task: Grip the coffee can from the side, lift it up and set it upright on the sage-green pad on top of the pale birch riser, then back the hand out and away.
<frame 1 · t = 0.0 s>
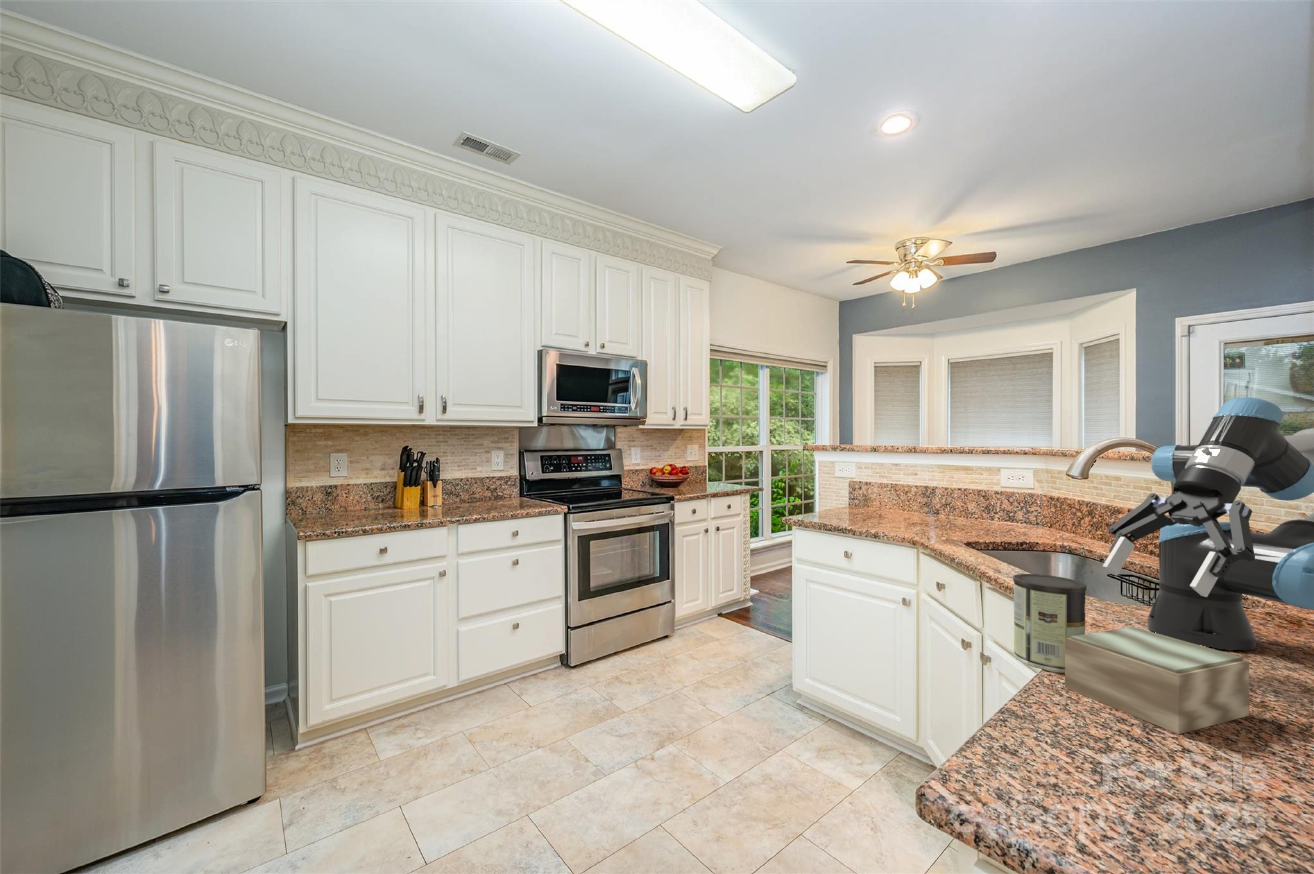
hand: (1150, 580, 89), 15 cm above the counter, tool tilted 35°, fingers open, 13 cm apart
riser: (1152, 700, 79), on the counter
coffee can: (1047, 662, 93), on the counter
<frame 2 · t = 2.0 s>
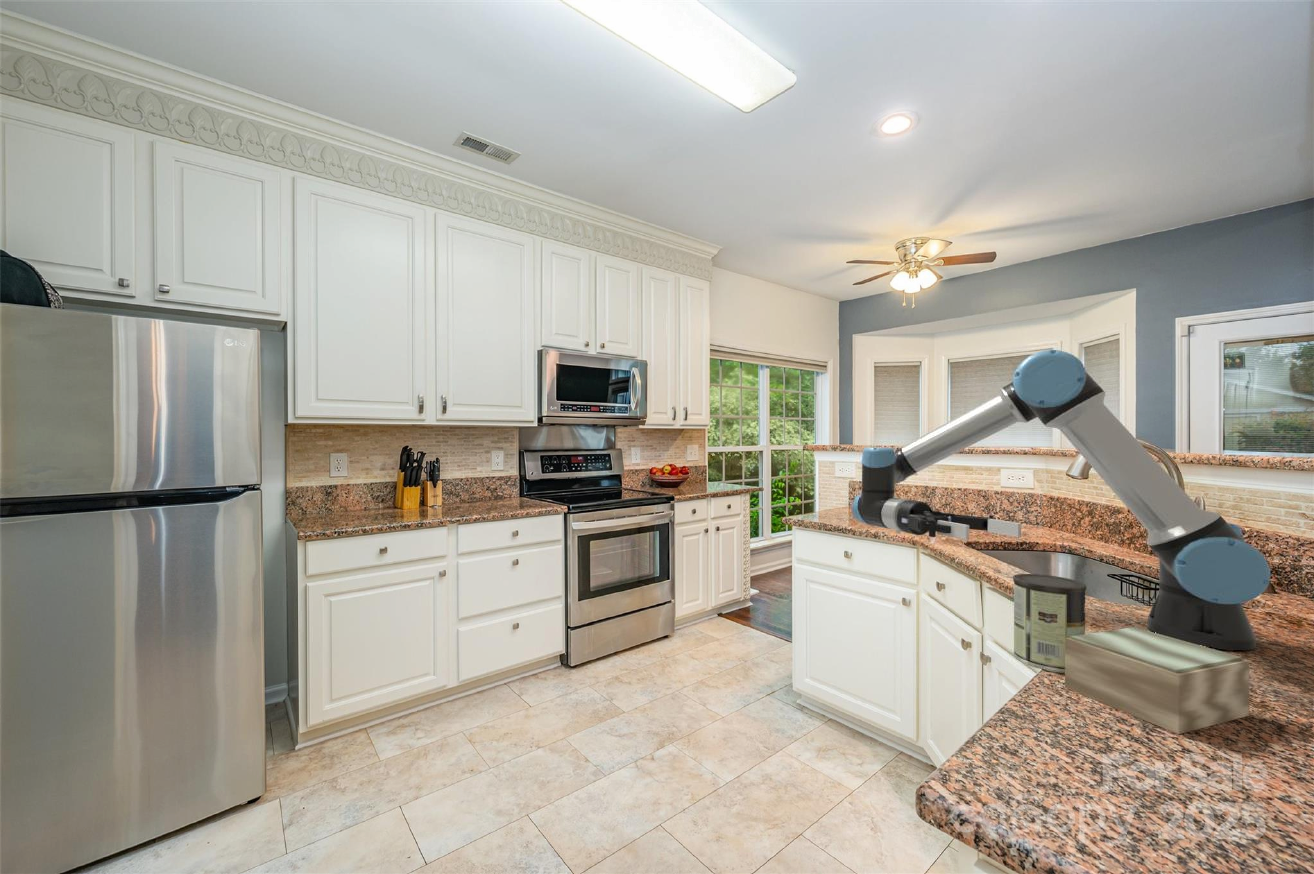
hand: (994, 531, 102), 21 cm above the counter, tool horizontal, fingers open, 13 cm apart
nothing on the counter moved.
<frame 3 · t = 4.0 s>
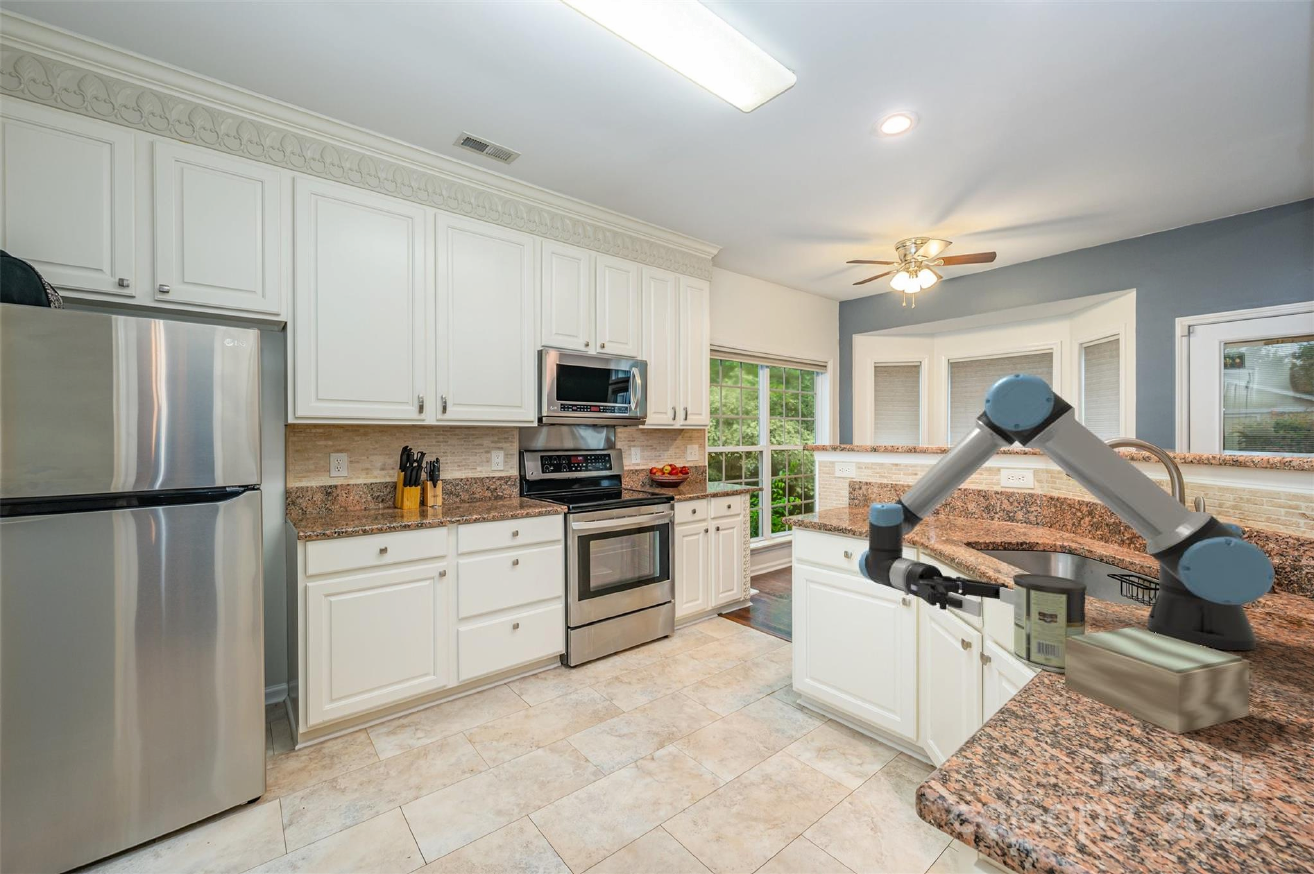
hand: (1007, 606, 99), 8 cm above the counter, tool horizontal, fingers open, 13 cm apart
nothing on the counter moved.
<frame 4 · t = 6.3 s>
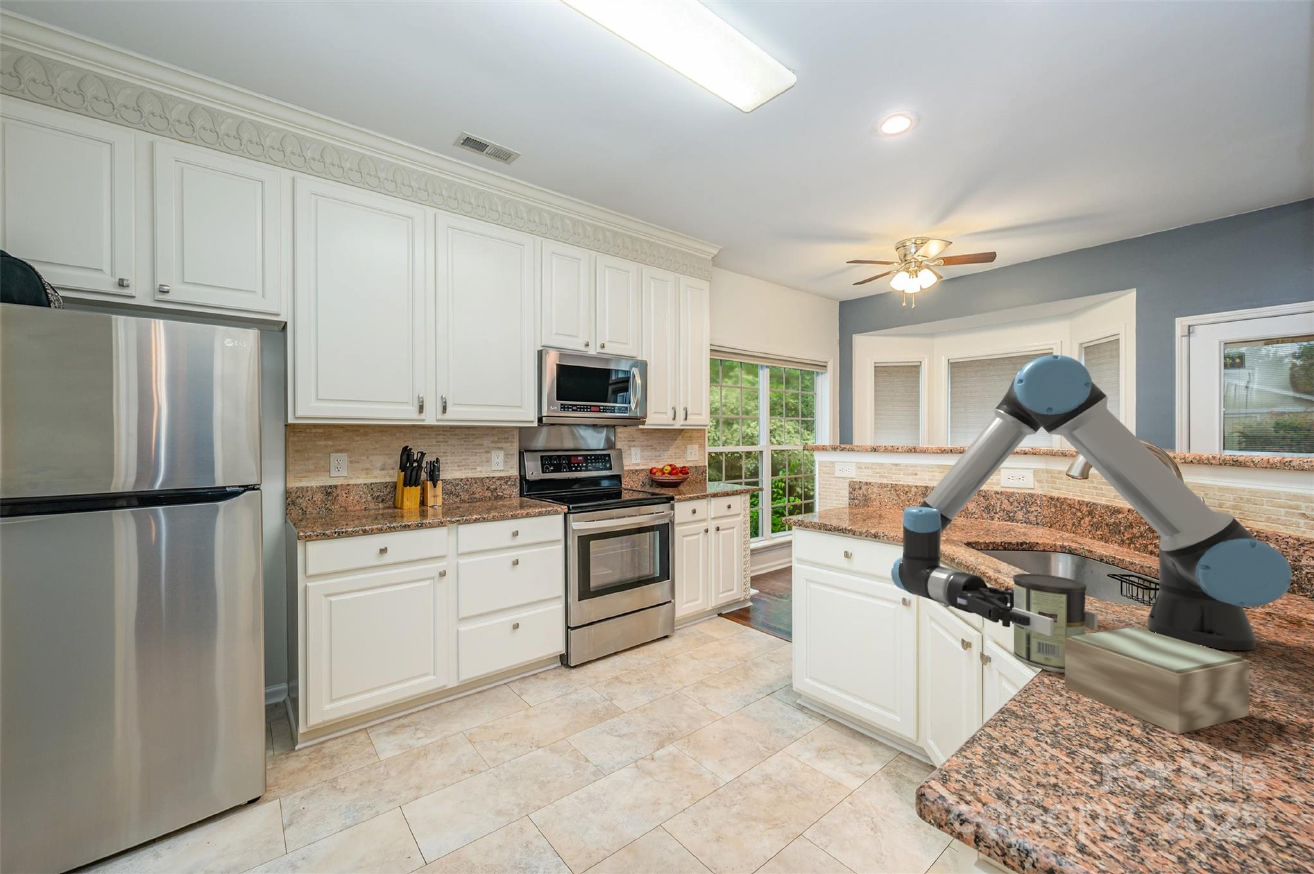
hand: (1074, 624, 89), 8 cm above the counter, tool horizontal, fingers closed on coffee can, 10 cm apart
coffee can: (1047, 662, 93), on the counter, touching gripper
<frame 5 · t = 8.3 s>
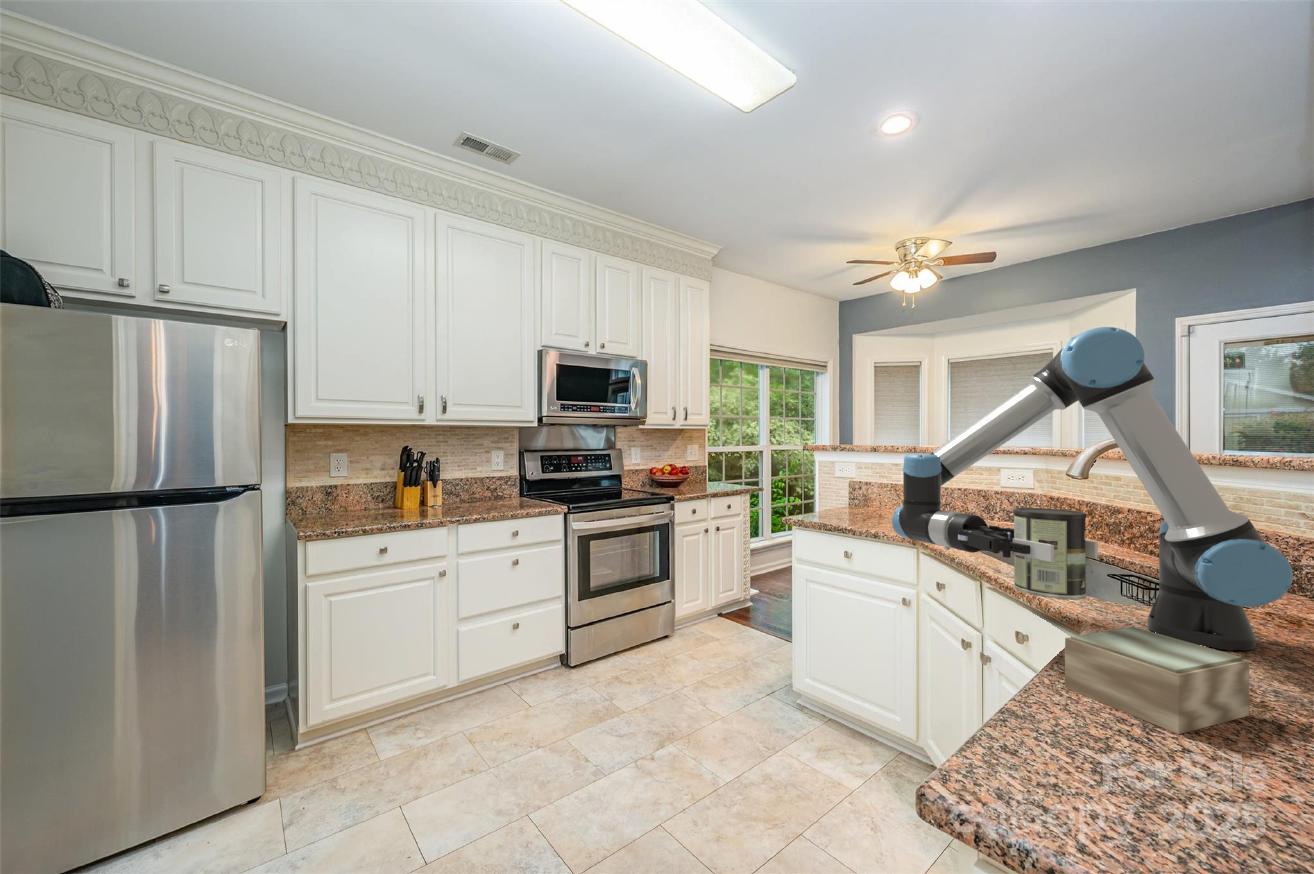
hand: (1074, 551, 89), 20 cm above the counter, tool horizontal, fingers closed on coffee can, 10 cm apart
coffee can: (1048, 592, 93), point 12 cm above the counter, touching gripper
when the fingers open (17 cm above the counter, at t = 10.7 s): coffee can drops 1 cm, resting on riser.
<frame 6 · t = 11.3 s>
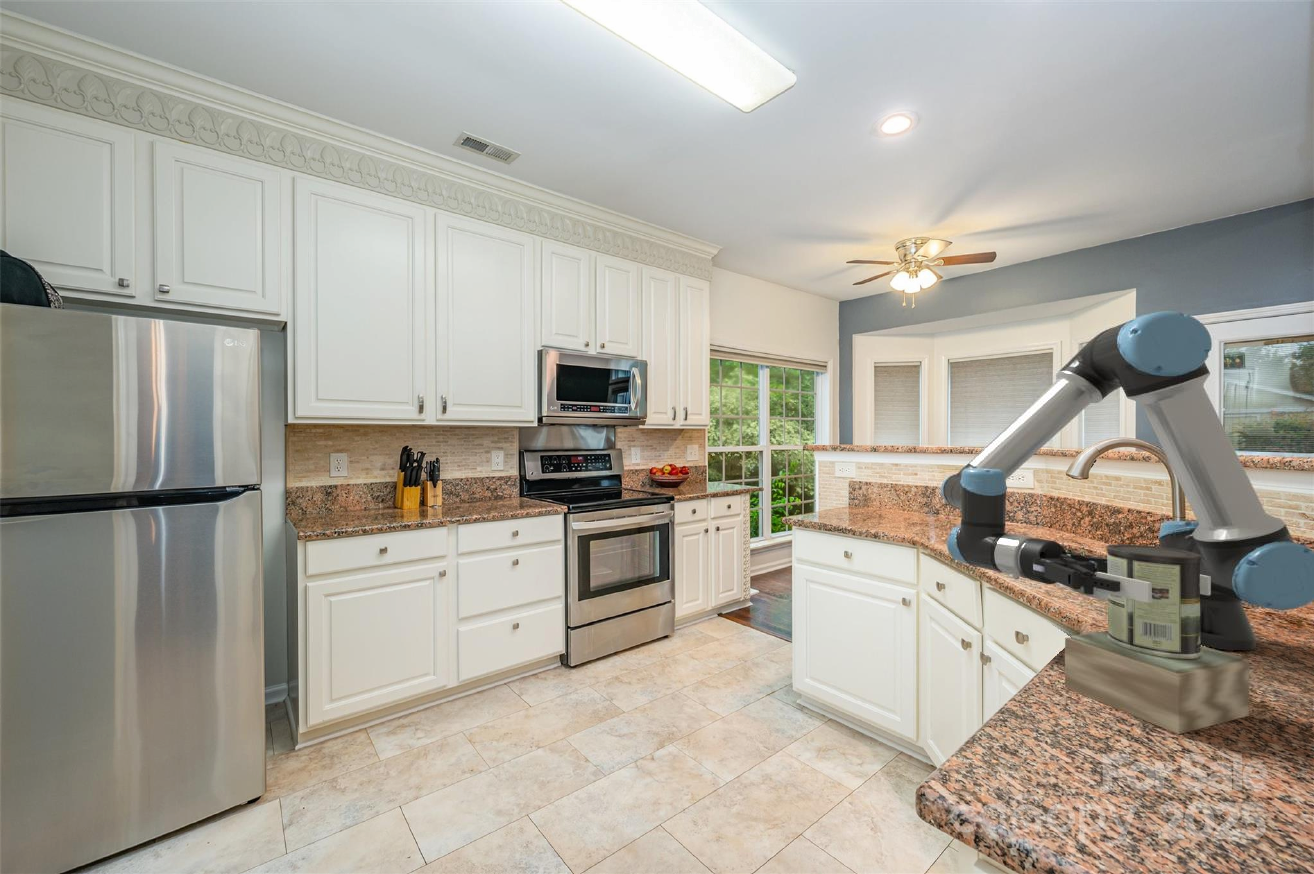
hand: (1180, 589, 76), 17 cm above the counter, tool horizontal, fingers open, 13 cm apart
coffee can: (1151, 647, 79), point 8 cm above the counter, touching riser
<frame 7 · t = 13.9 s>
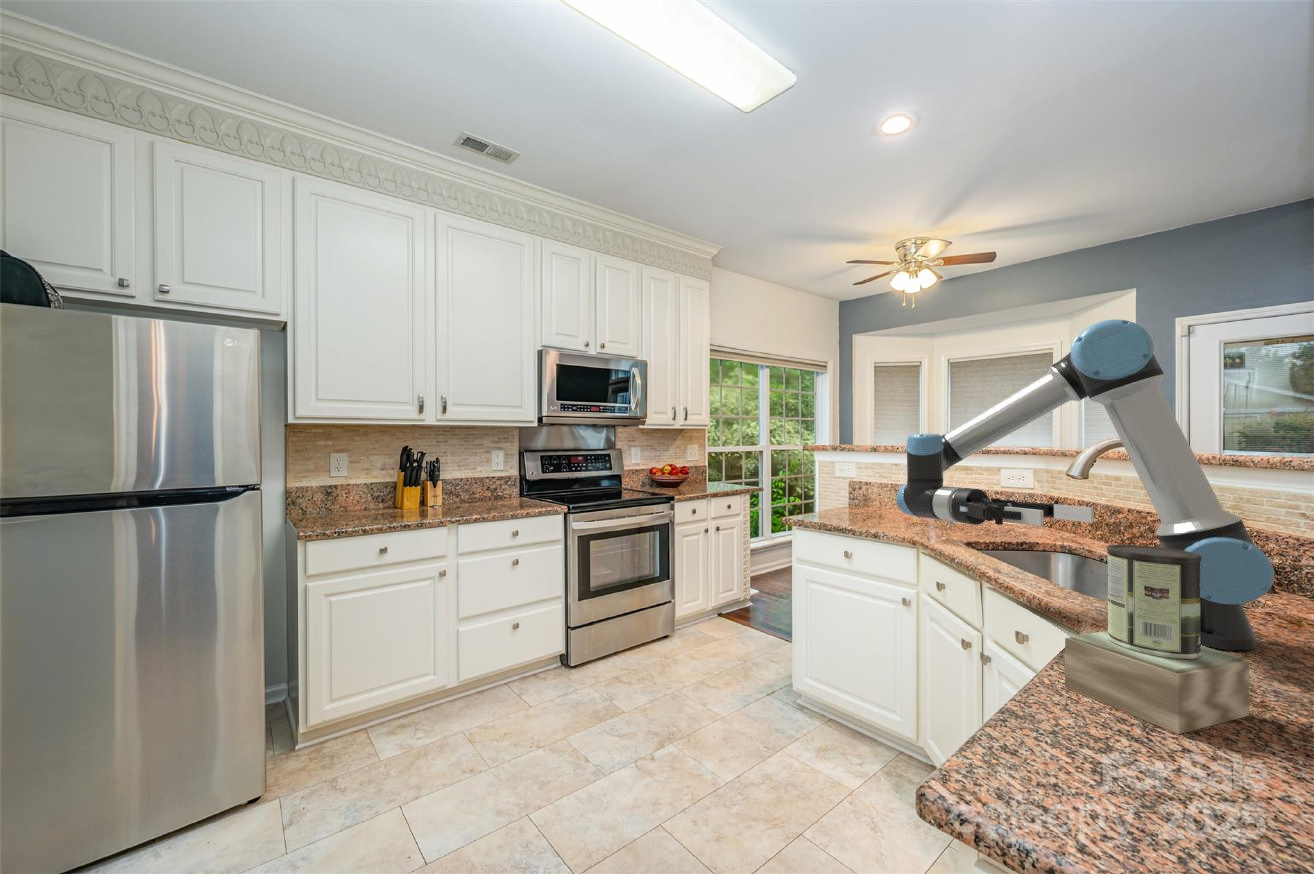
hand: (1068, 516, 95), 25 cm above the counter, tool horizontal, fingers open, 13 cm apart
nothing on the counter moved.
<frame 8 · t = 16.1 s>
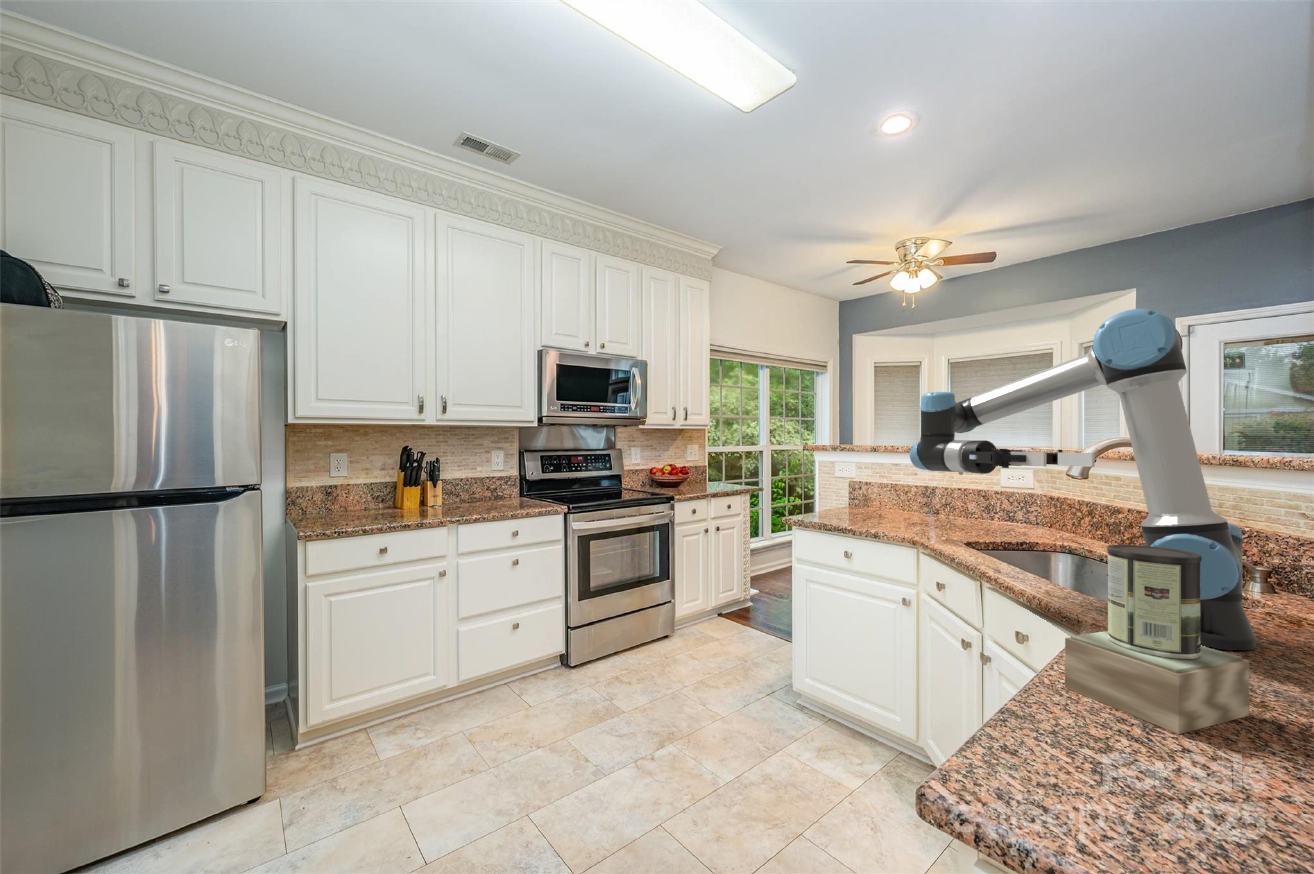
hand: (1070, 459, 103), 35 cm above the counter, tool horizontal, fingers open, 13 cm apart
nothing on the counter moved.
at the end: coffee can inside the target area on the riser (0.1 cm from its centre), point 7.8 cm above the riser's base; coffee can tilted 0°; the gripper is holding nothing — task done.
